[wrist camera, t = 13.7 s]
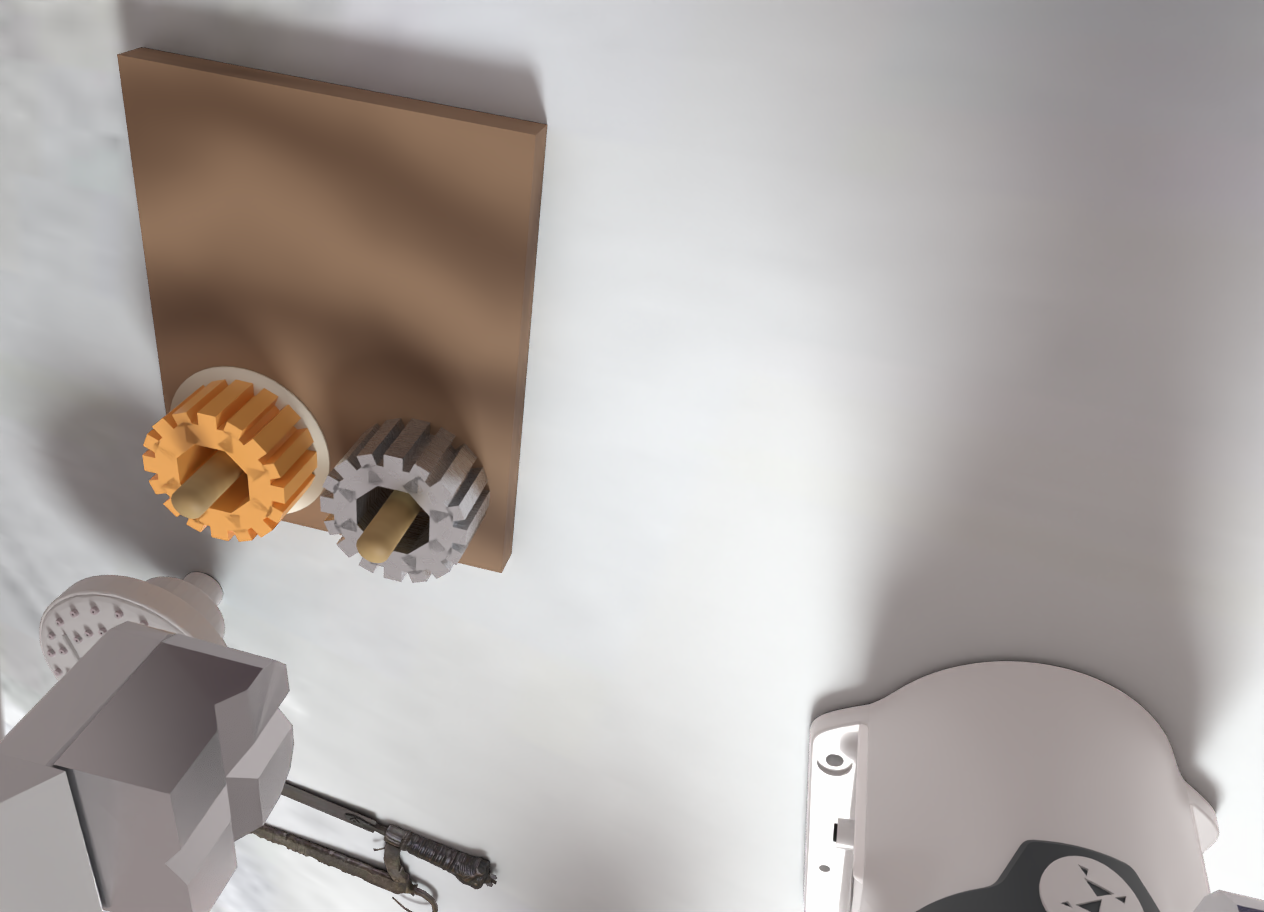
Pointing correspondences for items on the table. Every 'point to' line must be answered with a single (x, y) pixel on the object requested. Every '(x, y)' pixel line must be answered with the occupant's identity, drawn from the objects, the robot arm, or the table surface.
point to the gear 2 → (423, 473)
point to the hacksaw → (396, 840)
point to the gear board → (339, 267)
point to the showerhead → (128, 613)
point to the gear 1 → (234, 456)
